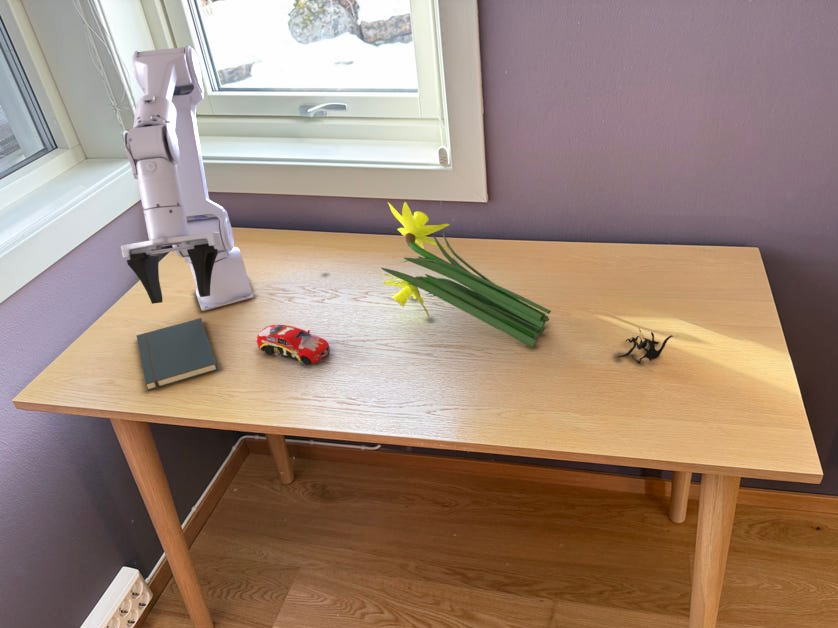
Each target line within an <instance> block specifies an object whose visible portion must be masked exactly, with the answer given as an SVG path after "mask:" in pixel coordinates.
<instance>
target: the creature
mask: <svg viewBox="0 0 838 628" xmlns="http://www.w3.org/2000/svg"><path fill="white" fill-rule="evenodd" d="M638 331H639V333H640V334H639V335H637V336H636V337H634V336H632V337H631V338H626V340H625V342H627V341H628V342H629V344H632V343H633V345H632V347H631V348H630V349H629V351H628V352H627V353H624V354H619V355H618V358H624V357H632V359H633V361H636V363H638V364H641V361H642V360H643V359H644V358H646V359H648V360H649V361H653V360H655V359H657V358H659V357H660V355H661V354H662V352H663V350H664V348H665V347H666V344H667V342H668V341H669V340H670V339H671V338H672V337H674V335H669V336H668V337H666V338H665V339H664V340H663V341H662V344H661V347H660V348H659V349H658V350H656V345H658V344H660V341H656V340H655V334H654V332H652V331H651V332H650V335H651V339H649V338H646V337H644V336H643V333H642V332H641V329H640V328H638ZM639 338H640V340H639ZM642 339H643V340H642ZM638 340H639V341H640V342H638ZM635 348H637V349H638V350H643V351H645V352H646V353H644V354H643V356H641V357H640V358H639V360H638V359H635V358H634V356H635V355H634V354H632V353H633V351H634V350H635Z"/></svg>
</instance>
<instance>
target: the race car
mask: <svg viewBox="0 0 838 628" xmlns="http://www.w3.org/2000/svg"><path fill="white" fill-rule="evenodd" d="M256 344H257V348H258V349H259V350H260V351H262V352H264V353H265V354H266V355H268V356H272V355H274V356H277V357H281V358H285V359H288V360H292V361H295V362H299V363H303V364H304V365H306V366H311V365H313V364H317V363H319V362H322V361H323V360H325V359H326V358H327V357H328V356H329V355H330V353H331V349H330V345H329V344H330V343H329V341H327V339H325V338H322V337H319V336H317V335H315V334H312V333H311V330H310V329H309V330H307V331H306V330H305V329H302V328H299V327H296V326H291V325H287V324H271V325H267V326H265V327H264V328H262V330H261V331H259V332H258V334H257V336H256Z"/></svg>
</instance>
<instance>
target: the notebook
mask: <svg viewBox="0 0 838 628" xmlns="http://www.w3.org/2000/svg"><path fill="white" fill-rule="evenodd" d="M136 341H137V346H138V351H139V357H140V362H141V367H142V372H143V377H144V383H145V385H146V386H147V392H149V391H152V390H156V389H160V388H163V387H167V386H169V385H173V384H177V383H180V382H184V381H187V380H190V379H194V378H197V377H201V376H203V375H207V374H210V373H214V372H218V371H219V368H218V364H217V361H216V359H215V355H214V353H213V350H212V346H211V343H210V341H209V337H208V334H207V331H206V328H205V325H204V322H203V319H202V317H198V318H195V319H193V320H192V319H191V320H189V321H184V322H181V323H177V324H173V325H170V326H169V325H168V326H166V327H162V328H159V329H155V330H151V331H148V332H143V333H140V334H137V335H136Z"/></svg>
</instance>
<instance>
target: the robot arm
mask: <svg viewBox="0 0 838 628" xmlns="http://www.w3.org/2000/svg"><path fill="white" fill-rule="evenodd" d="M131 65H132V69H133V73H134V77H135V79H136V83H137V84H138V86H139V87H140V88H141V91H142V92H143V93H144V95H143V96H141V97H140V98H139V99H138V101H137V103H136V105H135V112H134V119H133V124H132V125H133V126H132V128H129V130H128V132H125V133H124V135H123V144H124V149H125V153H126V156H127V160H128V161H129V164H130V167H131V172H132V175H133V179H134V180H137V181H136V182H137V185H138V191H139V195H140V196H139V197H140V201H141V206H142V211H143V216H144V222H145V227H146V232H147V237H148V240H144V241H138V242H134V243H133V242H132V243H126V244H122V245H120V249H121V254H122V259H126V264H127V265H128V267H129V268H130V269H131V270H132V271H133V273H134V274H135V275H136V277H137V278H138V279H139V281H140V282H141V284H142V286H143V287H144V289H145V291H146V293H147V295H148V298H149V300H150V303H151V304H153V305H154V304H161V303H163V301H164V300H163V293H162V287H161V282H160V274H159V261H160V257H159V255H158V254H165V253H171V252H174V254H175V255H176V256H178V257H179V258H180V259H184V262H185V263H187V264H188V265H189V268H190V271H191V274H192V278H193V281H194V285H195V287H196V290H195V295H196V298H197V302H198V304H199V307H200V310H201V311H203V312H205V311H209V310H213V309H216V308H219V307H225V306H227V305H231V304H235V303H240V302H242V301H243V302H244V301H246V300H249V299H252V298H254V294H253V291H252V287H251V284H250V283H251V280H250V277H249V274H248V273H247V269H246V266H245V263H244V259H243V257H242V253H241V250H240V248H239V246H235V239H234V232H233V227H232V225H231V221H230V218H229V214H228V212H227V210H226V208H224V207H223V206H222V205H220V204H218V203H216V202H214V201H213V200H211V199H210V195H209V189H208V185H207V178H206V172H205V165H204V160H203V154H202V148H201V142H200V136H199V130H198V123H197V105H199V104H200V103H201V102H202V101H203V100H204V99H205V96H204V93H205V90H204V84H203V78H202V72H201V67H200V62H199V59H198V55H197V52H196V51H195V49H194V48H193V47H191V45H185V46H183V47H172V48H171V47H170V48H161V49H152V50H151V49H150V50H143V51H142V50H141V51H140V50H135V51H134V52H133V54H132V57H131ZM169 246H172V247H169ZM162 247H169V248H163V249H162Z"/></svg>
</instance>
